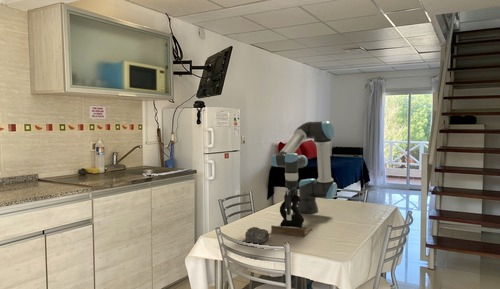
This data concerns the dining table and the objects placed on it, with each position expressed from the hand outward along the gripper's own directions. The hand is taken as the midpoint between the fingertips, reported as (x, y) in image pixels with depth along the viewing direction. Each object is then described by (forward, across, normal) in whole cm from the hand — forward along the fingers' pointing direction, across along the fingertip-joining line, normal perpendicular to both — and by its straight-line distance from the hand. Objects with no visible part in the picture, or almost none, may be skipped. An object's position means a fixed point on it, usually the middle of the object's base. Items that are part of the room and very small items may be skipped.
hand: (292, 218), depth 216 cm
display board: (+8, 0, 0) cm, 8 cm away
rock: (+8, +24, -12) cm, 28 cm away
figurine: (+5, 0, 0) cm, 5 cm away
